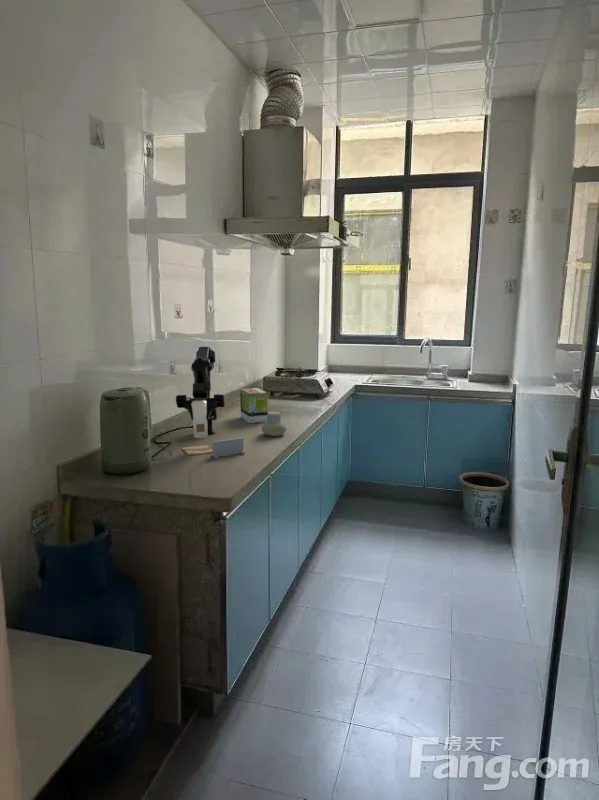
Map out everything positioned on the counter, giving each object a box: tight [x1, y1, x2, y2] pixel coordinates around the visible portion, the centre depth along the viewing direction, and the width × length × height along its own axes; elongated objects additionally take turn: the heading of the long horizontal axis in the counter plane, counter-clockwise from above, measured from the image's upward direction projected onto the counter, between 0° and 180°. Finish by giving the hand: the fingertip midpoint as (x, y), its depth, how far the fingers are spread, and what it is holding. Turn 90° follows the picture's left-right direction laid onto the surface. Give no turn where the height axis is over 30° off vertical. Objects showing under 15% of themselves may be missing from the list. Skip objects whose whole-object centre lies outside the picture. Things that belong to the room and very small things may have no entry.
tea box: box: [239, 387, 269, 424], centre depth 264 cm, size 15×10×15 cm, turn 22°
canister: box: [192, 400, 209, 439], centre depth 210 cm, size 6×6×14 cm
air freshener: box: [261, 411, 287, 437], centre depth 236 cm, size 11×8×10 cm
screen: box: [211, 437, 246, 459], centre depth 207 cm, size 4×12×6 cm, turn 117°
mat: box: [182, 444, 213, 457], centre depth 212 cm, size 10×10×1 cm
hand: (199, 419), depth 208 cm, fingers closed on canister, 5 cm apart
